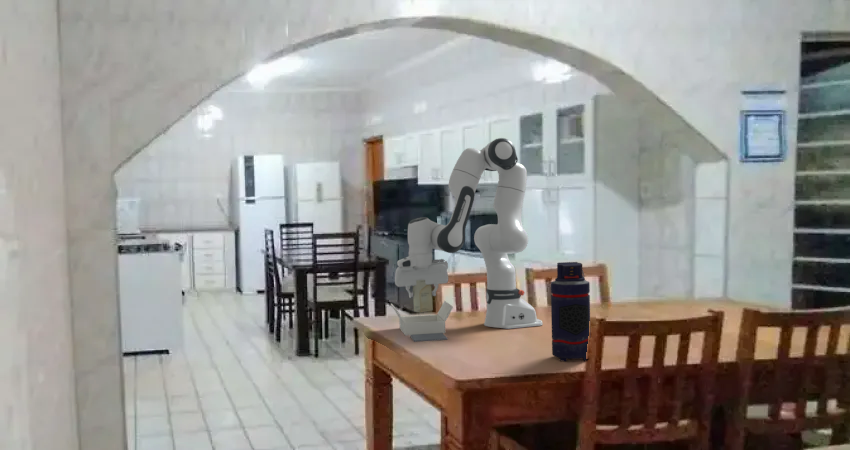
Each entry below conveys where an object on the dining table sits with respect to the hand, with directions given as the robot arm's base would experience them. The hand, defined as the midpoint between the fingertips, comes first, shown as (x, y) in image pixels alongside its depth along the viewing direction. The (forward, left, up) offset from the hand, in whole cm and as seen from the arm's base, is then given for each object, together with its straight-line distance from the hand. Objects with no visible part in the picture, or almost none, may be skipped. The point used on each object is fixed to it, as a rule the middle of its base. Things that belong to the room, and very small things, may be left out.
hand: (422, 296), depth 304 cm
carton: (+1, 0, -13) cm, 13 cm away
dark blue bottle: (-37, +59, -13) cm, 71 cm away
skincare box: (0, 0, -6) cm, 6 cm away
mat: (+1, +15, -13) cm, 20 cm away
